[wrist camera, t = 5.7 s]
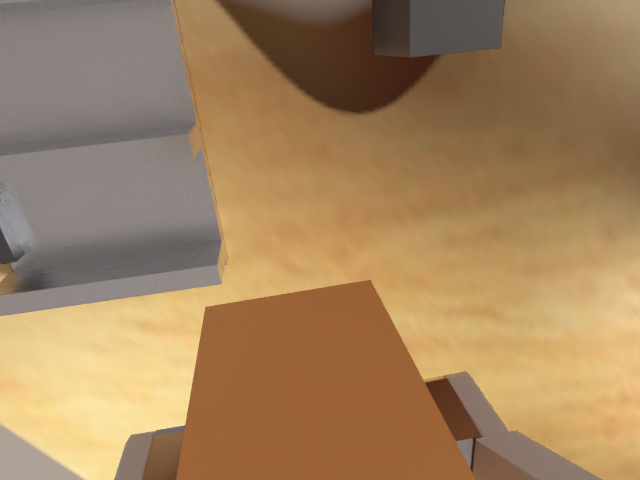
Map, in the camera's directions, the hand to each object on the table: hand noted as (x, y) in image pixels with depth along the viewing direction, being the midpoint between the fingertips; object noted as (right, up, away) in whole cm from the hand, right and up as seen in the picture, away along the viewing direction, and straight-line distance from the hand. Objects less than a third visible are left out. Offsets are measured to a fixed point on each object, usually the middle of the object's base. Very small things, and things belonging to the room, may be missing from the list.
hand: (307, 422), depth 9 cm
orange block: (0, +1, +2) cm, 2 cm away
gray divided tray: (-12, +9, +14) cm, 21 cm away
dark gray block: (+5, +16, +13) cm, 22 cm away
